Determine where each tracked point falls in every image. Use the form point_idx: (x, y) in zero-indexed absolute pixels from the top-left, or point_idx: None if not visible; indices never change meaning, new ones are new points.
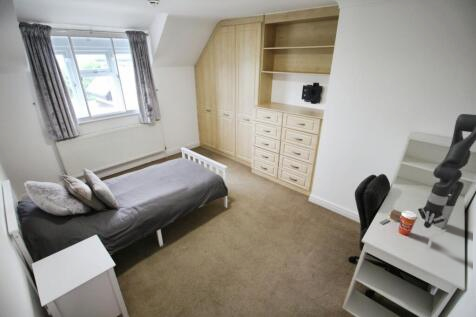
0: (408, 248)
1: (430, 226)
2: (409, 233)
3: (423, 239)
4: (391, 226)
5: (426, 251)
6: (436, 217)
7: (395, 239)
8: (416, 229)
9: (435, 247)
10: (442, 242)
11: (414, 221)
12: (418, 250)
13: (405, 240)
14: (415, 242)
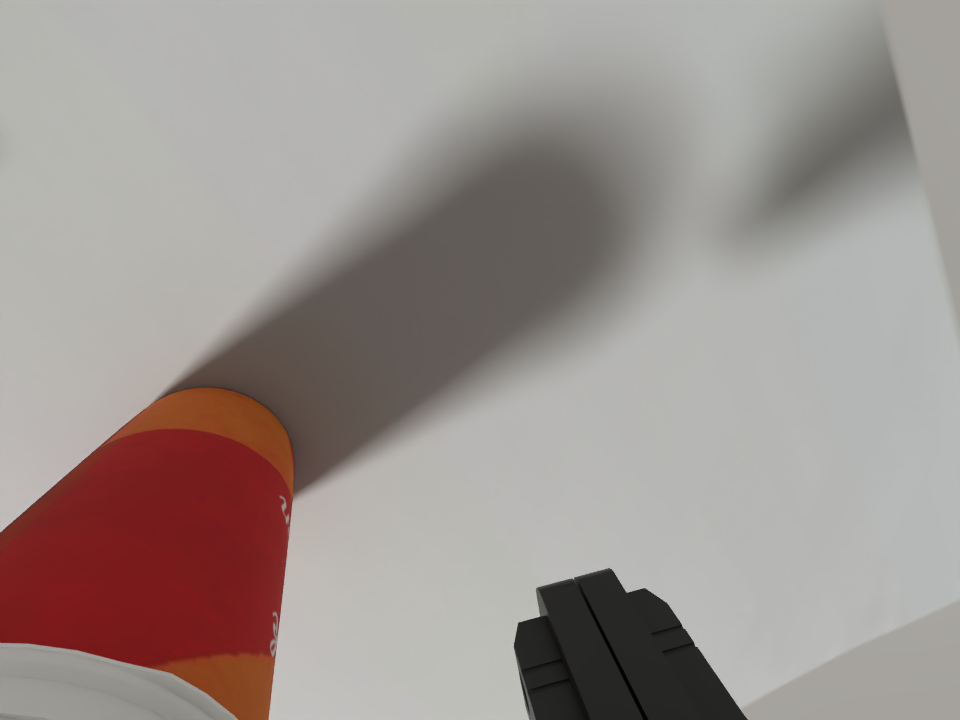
0: (511, 658)
1: (673, 634)
2: (289, 459)
3: (441, 295)
4: (3, 523)
5: (628, 496)
6: None
7: (326, 688)
8: (167, 124)
9: (629, 296)
10: (602, 33)
11: (262, 705)
12: (578, 574)
13: (380, 580)
14: (455, 482)
